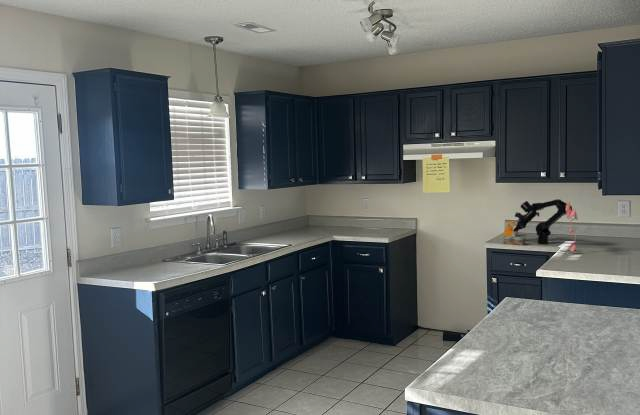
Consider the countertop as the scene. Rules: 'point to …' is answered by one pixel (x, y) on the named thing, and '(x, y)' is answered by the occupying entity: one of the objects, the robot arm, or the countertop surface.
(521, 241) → the green slab with socket
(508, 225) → the bracket
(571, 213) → the figurine
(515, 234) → the wooden pepper mill
